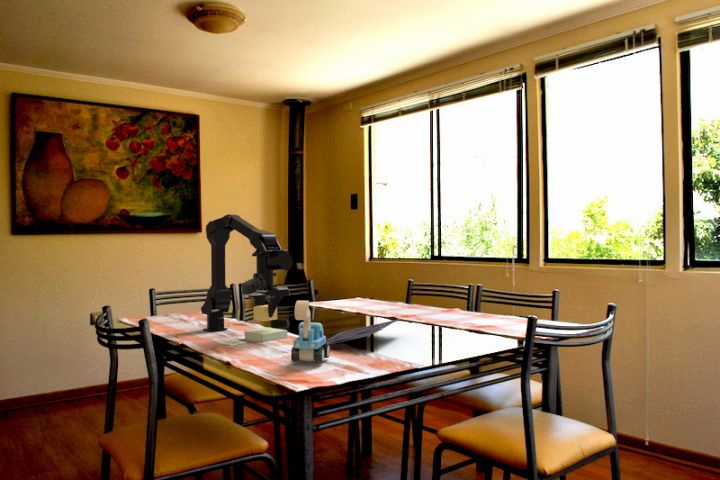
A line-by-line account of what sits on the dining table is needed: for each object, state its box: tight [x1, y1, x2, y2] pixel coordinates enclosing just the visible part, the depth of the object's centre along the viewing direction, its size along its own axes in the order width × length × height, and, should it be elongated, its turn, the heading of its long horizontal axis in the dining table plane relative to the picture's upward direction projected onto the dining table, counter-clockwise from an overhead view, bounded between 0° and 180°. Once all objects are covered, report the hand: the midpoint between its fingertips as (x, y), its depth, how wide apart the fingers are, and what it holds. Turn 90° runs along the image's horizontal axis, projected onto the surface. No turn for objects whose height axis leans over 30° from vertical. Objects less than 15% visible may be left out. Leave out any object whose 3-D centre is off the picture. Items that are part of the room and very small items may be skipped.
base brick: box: [244, 327, 288, 343], centre depth 182 cm, size 10×10×3 cm
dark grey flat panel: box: [326, 318, 401, 345], centre depth 177 cm, size 24×30×4 cm
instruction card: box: [217, 339, 248, 347], centre depth 175 cm, size 8×6×1 cm
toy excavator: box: [290, 300, 331, 363], centre depth 145 cm, size 9×17×17 cm, turn 170°
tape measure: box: [269, 318, 291, 330], centre depth 199 cm, size 7×7×4 cm
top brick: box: [253, 304, 278, 322], centre depth 182 cm, size 5×6×4 cm
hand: (265, 316), depth 182 cm, fingers closed on top brick, 5 cm apart
